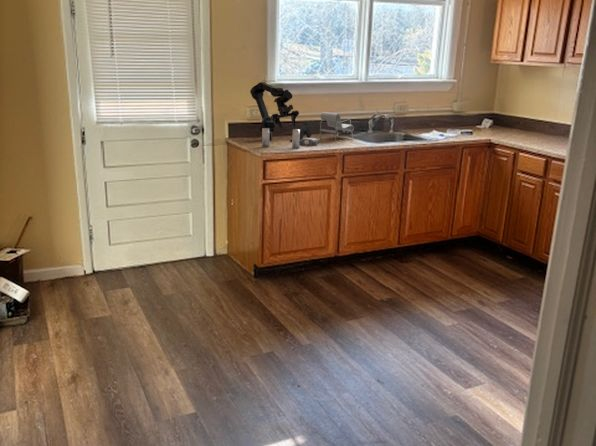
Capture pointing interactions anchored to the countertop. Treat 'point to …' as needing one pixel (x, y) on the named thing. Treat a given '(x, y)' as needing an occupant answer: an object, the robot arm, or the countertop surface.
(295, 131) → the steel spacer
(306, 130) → the handgun
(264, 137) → the spacer
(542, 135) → the countertop surface
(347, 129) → the chair
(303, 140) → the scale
